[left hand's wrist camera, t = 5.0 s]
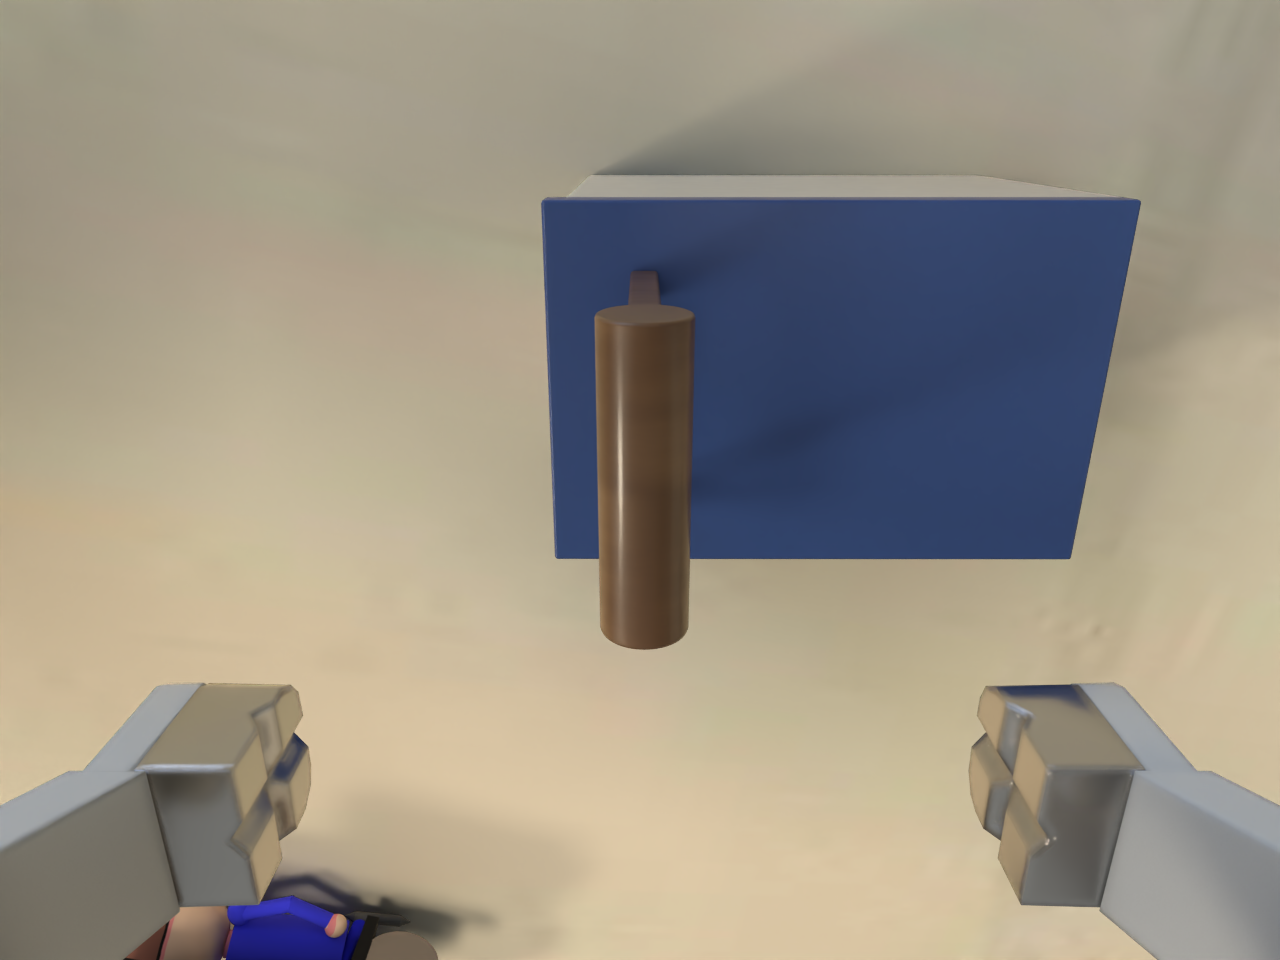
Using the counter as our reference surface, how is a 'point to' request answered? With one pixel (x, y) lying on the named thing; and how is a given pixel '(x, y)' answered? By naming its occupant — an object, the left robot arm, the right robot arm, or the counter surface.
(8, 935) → the left robot arm
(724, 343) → the lid
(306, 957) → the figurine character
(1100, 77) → the counter surface
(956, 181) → the chest
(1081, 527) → the counter surface
